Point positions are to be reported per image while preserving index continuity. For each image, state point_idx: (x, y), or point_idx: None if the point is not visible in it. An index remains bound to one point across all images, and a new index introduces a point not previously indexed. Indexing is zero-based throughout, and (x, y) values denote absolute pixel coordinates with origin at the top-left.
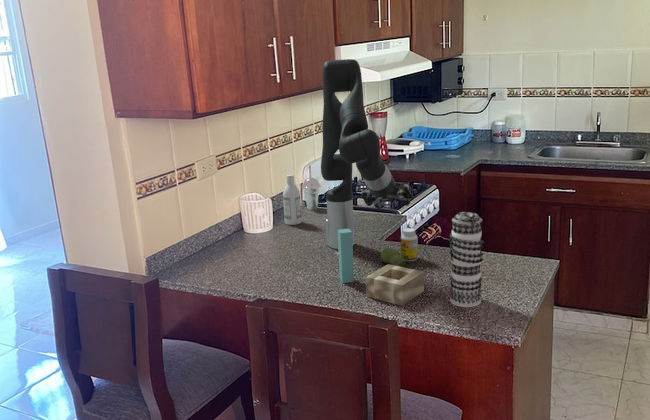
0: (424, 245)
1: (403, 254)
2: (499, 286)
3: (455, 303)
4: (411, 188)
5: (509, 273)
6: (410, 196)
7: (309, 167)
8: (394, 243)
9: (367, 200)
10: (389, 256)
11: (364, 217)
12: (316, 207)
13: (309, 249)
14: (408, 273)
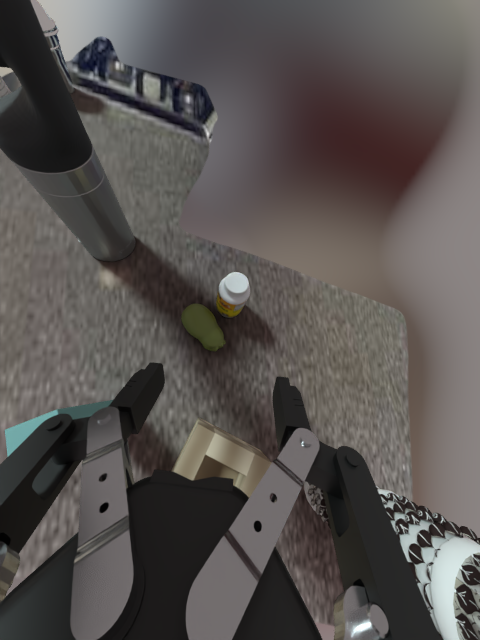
0: (247, 253)
1: (221, 311)
2: (361, 411)
3: (315, 510)
4: (378, 493)
5: (365, 359)
6: (342, 507)
7: None
8: (203, 242)
9: (46, 506)
10: (198, 335)
11: (154, 139)
12: (71, 88)
13: (44, 257)
14: (242, 473)
